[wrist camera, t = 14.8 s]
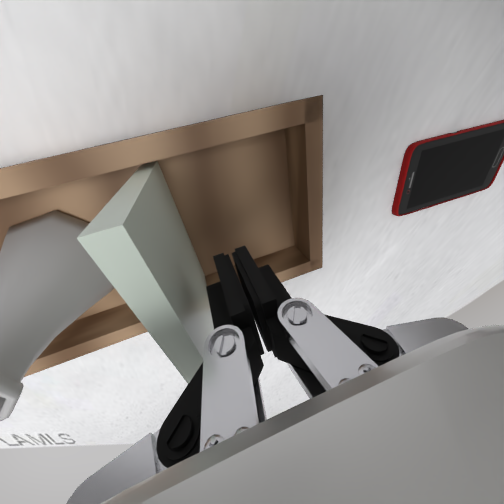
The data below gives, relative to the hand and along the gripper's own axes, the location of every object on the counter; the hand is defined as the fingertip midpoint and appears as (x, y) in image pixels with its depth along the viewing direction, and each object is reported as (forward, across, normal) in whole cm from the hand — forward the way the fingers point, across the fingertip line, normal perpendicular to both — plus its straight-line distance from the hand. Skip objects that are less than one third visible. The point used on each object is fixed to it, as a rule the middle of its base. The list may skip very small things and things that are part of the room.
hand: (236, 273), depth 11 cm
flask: (+8, +11, 0) cm, 13 cm away
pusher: (+7, +3, 0) cm, 8 cm away
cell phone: (+9, -27, +3) cm, 29 cm away
